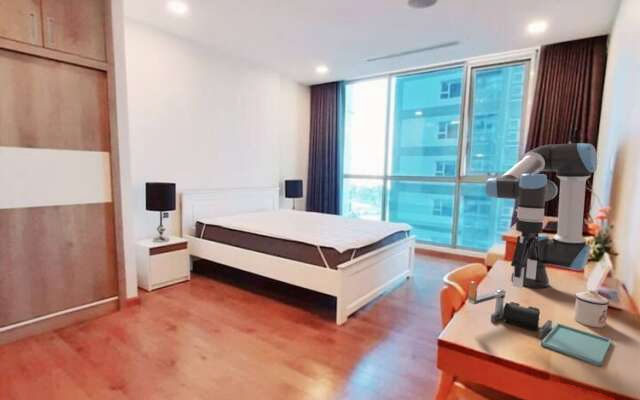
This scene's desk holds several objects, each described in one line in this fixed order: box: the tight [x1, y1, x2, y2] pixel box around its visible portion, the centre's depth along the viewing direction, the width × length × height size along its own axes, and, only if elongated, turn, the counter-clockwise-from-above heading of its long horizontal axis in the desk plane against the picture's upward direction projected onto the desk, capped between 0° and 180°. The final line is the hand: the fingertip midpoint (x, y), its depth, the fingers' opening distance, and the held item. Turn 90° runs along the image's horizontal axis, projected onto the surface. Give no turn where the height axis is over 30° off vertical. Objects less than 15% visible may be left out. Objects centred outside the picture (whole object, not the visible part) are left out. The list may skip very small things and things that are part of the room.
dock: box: [490, 297, 553, 340], centre depth 114 cm, size 11×16×8 cm
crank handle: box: [467, 280, 506, 305], centre depth 114 cm, size 3×18×8 cm, turn 120°
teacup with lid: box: [573, 289, 610, 328], centre depth 118 cm, size 12×9×12 cm
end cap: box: [502, 301, 541, 331], centre depth 114 cm, size 10×7×7 cm
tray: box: [540, 323, 612, 368], centre depth 102 cm, size 19×14×1 cm
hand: (524, 282), depth 112 cm, fingers open, 13 cm apart
